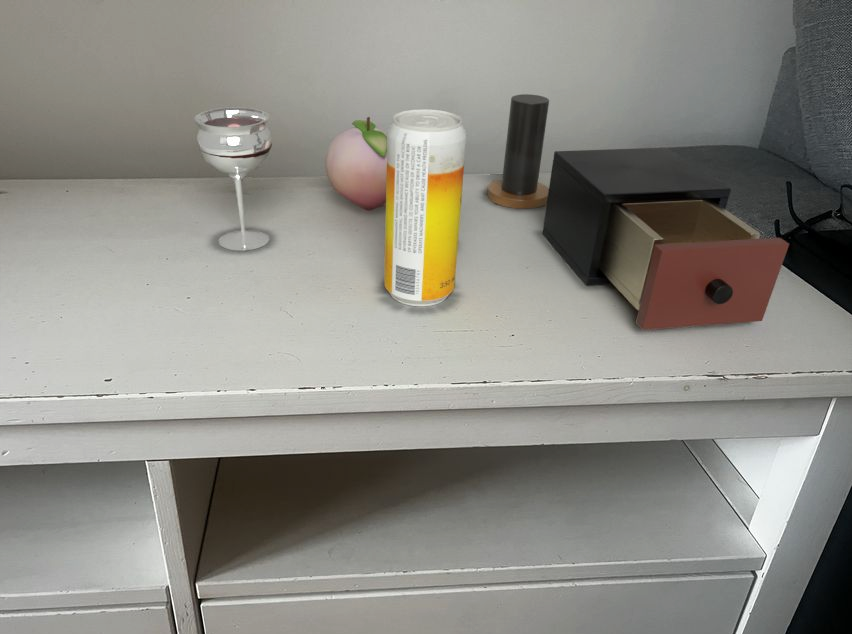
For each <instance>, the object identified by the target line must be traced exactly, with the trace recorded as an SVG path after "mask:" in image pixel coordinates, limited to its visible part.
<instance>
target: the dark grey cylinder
mask: <svg viewBox="0 0 852 634" xmlns="http://www.w3.org/2000/svg"><path fill="white" fill-rule="evenodd" d="M549 106H550V99H549V98H547V97H546V96H542V95H538V94H531V93H530V94H527V93H526V94H525V93H524V94H516V95H513V96H512V97H511V98H510V106H509V116H508V124H507V132H506V142H505V151H504V160H503V161H504V162H503V169H502V178H501V179H502V186H501V188H502V190H503V191H505V192H507V193H510V194H514V195H530V194H533V193H535V192H536V191H537V185H538V183H539V178H540V177H539V176H540V170H541V163H542V156H543V155H542V154H543V148H544V141H545V134H546V127H547V119H548V113H549Z"/></svg>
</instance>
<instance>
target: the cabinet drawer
mask: <svg viewBox="0 0 852 634" xmlns="http://www.w3.org/2000/svg"><path fill="white" fill-rule="evenodd" d="M760 236H761V232H759V231H758V230H756V229H754V228H753V227H752V226H750V225H749V224H747V223H746V222H744V221H743V220H741V219H740V218H739V217H738V216H736V215H734V214H733V213H731V212H730V211H728V210H727V209H724V208H722V207H721V206H719V205H718V204H716V203H715V202H714V201H712V200H711V199H709V198H705V199H683V200H662V201H640V202H619V203H611V207H610V212H609V217H608V222H607V227H606V232H605V237H604V242H603V247H602V252H601V257H600V262H599V267H598V268H599V269H600V270H601V271H602V273H603V274H604V275H605V276H606V277H607V278H608V279H609V280H610V281H611V282H612V283H613V284H612V285H613V286H614V287H615V288H616V289H617V290H618V291H619V293H621V294H622V296H623V297H624V298H625V299H626V300H627V301H628V302H629V304H631V305H632V307H634V308H635V310H636V311H638V312H637V315H636V320H635V323H636V324H637V326H638V327H639V328H640V329H641V330H642V331H647V330H659V329H672V328H673V329H674V328H685V327H699V326H712V325H724V324H726V325H727V324H738V323H751V322H763V320H764V316H765V314H766V311H767V309H768V305H769V303H770V300H771V297H772V294H773V292H774V288H775V285H776V283H777V280H778V277H779V274H780V272H781V268H782V265H783V263H784V260H785V257H786V255H787V252H788V249H789V246H790V243H789V242H787V241H786V240H784V239H783V238H781V237H767V238H766V237H765V238H764V237H763V238H760Z"/></svg>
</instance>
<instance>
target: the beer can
mask: <svg viewBox="0 0 852 634" xmlns="http://www.w3.org/2000/svg"><path fill="white" fill-rule="evenodd" d="M386 133H387V175H386V204H385V225H384V226H385V230H384V231H385V233H384V278H383V279H384V282H383V283H384V284H383V285H384V287H385V289H386V290H387V291H388V292H389V293H390V296H391V297H392V298H393V299H394V300H395V301H396V302H397V303H400V304H403V305H406V306H411V307H432V306H435V305H438V304H440V303H443V302H444V301H445V300H446V299H447V298H448V296H449V295H450V294H451V293H452V292H453V291H454V290H455V285H456V284H455V283H456V271H457V259H458V246H459V234H460V224H461V223H460V221H461V209H462V196H463V185H464V184H463V182H464V172H465V158H466V145H467V132H466V130H465V127H464V124H463V118H462V117H461V116H460V115H459V114H455V113H454V112H450V111H445V110H439V109H425V108H424V109H410V110H409V109H408V110H404V111H399V112H397V113H395V114H394V115H393V117H392V121H391V123H390V126H389V128H388V130H387V132H386Z"/></svg>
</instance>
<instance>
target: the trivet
mask: <svg viewBox="0 0 852 634" xmlns="http://www.w3.org/2000/svg"><path fill="white" fill-rule="evenodd" d="M501 186H502V178H501V179H497V180H493V181H492V182H490V183H489V184H488V186H487V194H486V196H487V198H488V199H489V201H491V202H492V203H494V204H496V205H499V206H502V207H506V208H512V209H525V210H526V209H535V208H540V207H543V206H545V205H547V198H548V192H549V186H548V187H547V185H545V184H543V183H540V182H538V185H537V191H536V192H535V193H533V194H530V195H514V194H510V193H507V192H505V191H503V190H502V188H501Z"/></svg>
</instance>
